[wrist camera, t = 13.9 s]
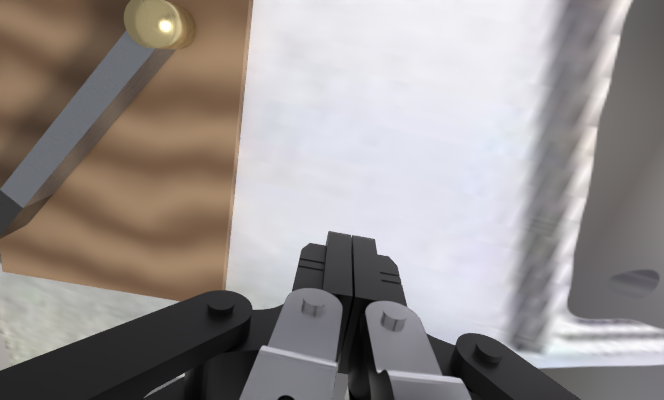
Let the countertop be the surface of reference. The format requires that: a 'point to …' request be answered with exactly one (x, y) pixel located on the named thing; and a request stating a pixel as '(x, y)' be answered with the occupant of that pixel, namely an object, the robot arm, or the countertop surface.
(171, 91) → the board
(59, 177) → the lever
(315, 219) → the countertop surface
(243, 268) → the countertop surface
